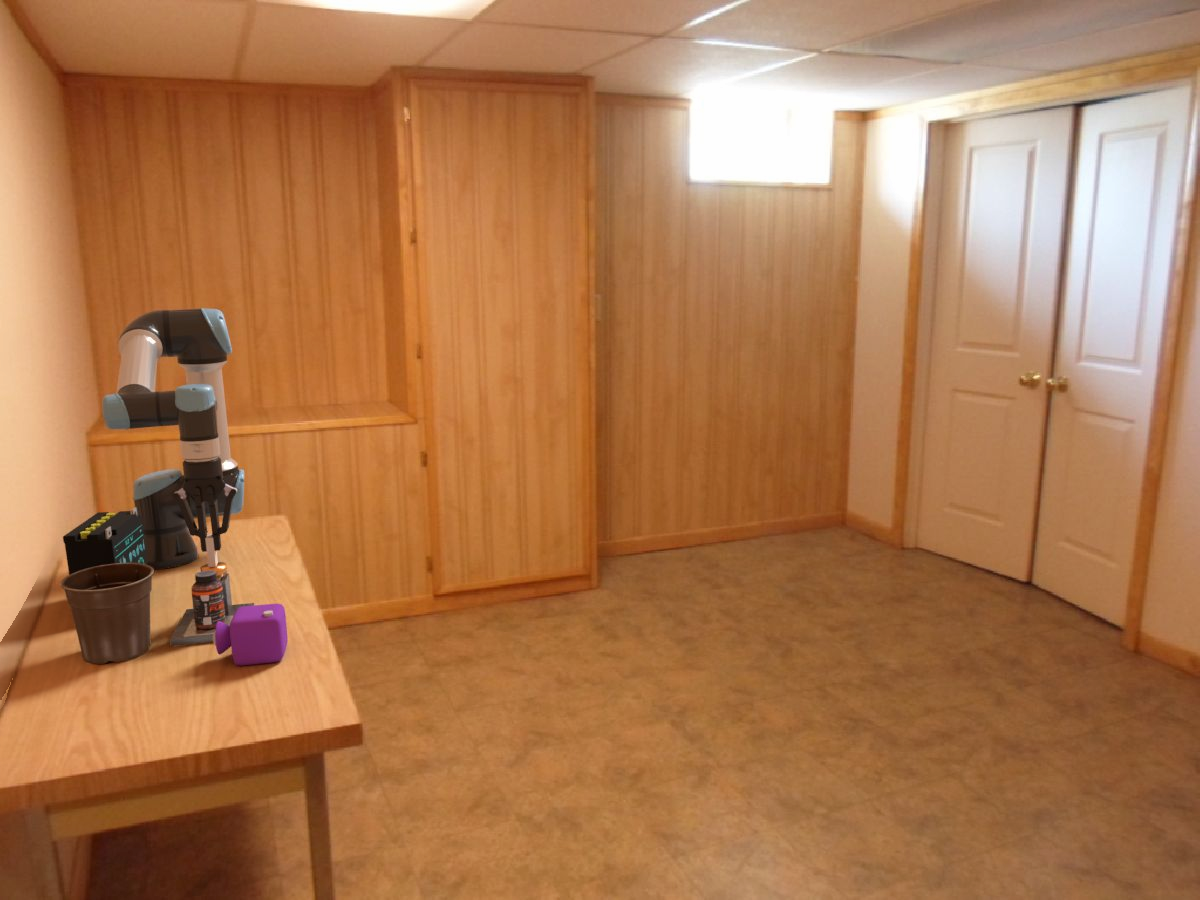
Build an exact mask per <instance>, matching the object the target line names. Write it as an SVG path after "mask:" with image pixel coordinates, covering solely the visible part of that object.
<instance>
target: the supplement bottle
mask: <svg viewBox="0 0 1200 900" xmlns="http://www.w3.org/2000/svg"><path fill="white" fill-rule="evenodd" d="M194 576H195V577H194V578H195V579H194V580H195V582H194V583H193V585H192V586H191V599H192V609H193V610H194V620H195V626H196V627H197V628H200V629H212V628H216V624H217V622H218V621H221V622H223V623H225V610H224V599H223V589H222V583H221V582H220V581H218V580H217V579H216V578H217V577H216V572H215V571H211V570H209V571H201V570H200V571H198V572H196V573H195V575H194Z"/></svg>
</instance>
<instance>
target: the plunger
mask: <svg viewBox="0 0 1200 900" xmlns="http://www.w3.org/2000/svg"><path fill="white" fill-rule="evenodd" d="M209 570H211V571H215V572H216V577H217V578H216V579H217V580H221V577H223V576H225V575H226V574H228V567H227V563H226V562H223V561H218V564H217V566H216V567H208V563H205V564H203V565H201V566H200V572H201V571H209Z"/></svg>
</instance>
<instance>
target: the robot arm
mask: <svg viewBox="0 0 1200 900" xmlns="http://www.w3.org/2000/svg"><path fill="white" fill-rule="evenodd" d="M226 322H227V321H226V318H225V315H224V313H223V312H222V310H219V309H217V308H204V307H201V308H187V309H186V308H184V309H182V308H181V309H160V310H159V309H158V310H157V309H156V310H152V311H149V312H146V313H144V314H142V315H140V316H138V317H137V318H134V320H132V321H131V322H129V324H127V326H125V328H124V329H123V330H122V331H121V334H120V335H119V339H118V345H117V346H118V348H117V350H118V352H119V355H120V356H121V358H120V365H119V371H118V378H117V379H118V380H117V384H116V385H117V386H116V393H112V394H106V395H104V396H103V398H102V402H101V403H102V415H103V416H102V417H103V420H104V424H105V426H106V428H108V429H110V430H130V429H131V430H132V429H133V430H134V429H143V428H145V429H146V428H152V427H153V428H155V427H167V426H168V427H169V426H178V431H179V443H180V451H181V458H182V459H183V461H182V470H183V472H182V471H181V470H180V469H176V468H173V469H172V468H171V469H164V470H158V471H153V472H151V473H148V474H145V475H142V476H141V477H138V478H136V480H134V482H133V484H132V491H133V497H132V500H133V501H134V508H135V507H136V508H137V515H142V525H143V533H144V541H145V549H146V557H147V565H149V566H151V567H152V568H153V569H154V570H162V568H164V569H169V568H168V567H171V568H175V566H176V567H178V565H180V566H182V564H184V565H186V564H185V563H187V564H189V563H192V562H193V561H195V560H196V559H198V557H199V552H198V547H197V545H196V543H195V541H194V539H193V536H196V537H198V538H199V539H200V540H199V541H200V548H201V552H202V553H204V552H205V553H206V557H207V558H206V559H207V564H208V567H216V566H217V564H218V562H219V561H218V551H220V550H221V548H222V540H221V539H222V538H221V535H223V534H226V533H227V531H228V530H229V527H230V523H231V522H230V521H231V517H232V515H236V514H239V513H240V512H242V510H243V508H244V499H245V495H244V494H245V470H244V469H241V468H239V464H238V462H237V461H236V460H234V458H232V455H231V445H230V437H229V427H228V416H227V407H226V398H225V397H226V396H225V387H224V376H223V369H222V368H223V367H224V366H225V364H227V363H228V355H231V354H233V348H232V344H231V338H230V333H229V331H228V327H227V323H226ZM167 357H168V358H177V365H179V366H180V367H181V368H182V369H184V371H185V379H186V384H184V385H180V386H178V387H176V389H175V390H165V391H161V390H160V391H156V383H157V369H158V368H157V365H158V361H159V360H160V358H167ZM220 517H222V522H221V526H220ZM206 518H210V524H211V525H210V526H211V534H208V532H209V531H208V526H207V519H206ZM195 519H197V523H196V520H195ZM197 556H198V557H197Z"/></svg>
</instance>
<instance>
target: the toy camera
mask: <svg viewBox="0 0 1200 900" xmlns="http://www.w3.org/2000/svg"><path fill="white" fill-rule="evenodd" d="M288 637H289V636H288V627H287V617H286V610H285V607H284V605H283V604H281V603H268V604H267V603H265V604H257V605H255V604H254V606H244V607H240V608H238V609H237V610H236V612H235V614H234V616H233V618H232V620H231V623H230V626H228V625H226V624H225V623H223V622H221V621H218V622H217V624H216V630H215V632H214V634H213V642H212V643H213V645H214V646H215V647H216V653H217V654H218V655H222V654H224V653H225V652H227V651H228V650H229V649H231V655H232V660H233V662H234V664H235V665H237V666H249V665H250V666H251V665H261V664H268V663H269V664H270V663H276V662H280V661H281V660H283V658H284V657H285V653H286V649H287V646H288V641H289V640H288Z"/></svg>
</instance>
